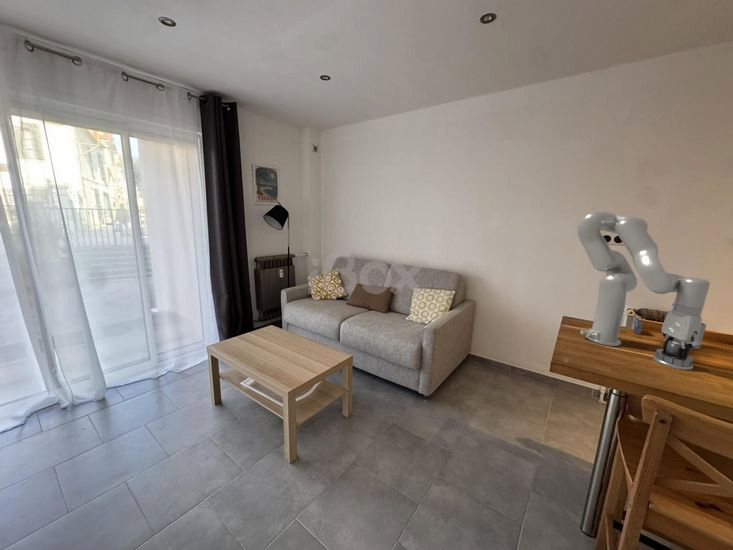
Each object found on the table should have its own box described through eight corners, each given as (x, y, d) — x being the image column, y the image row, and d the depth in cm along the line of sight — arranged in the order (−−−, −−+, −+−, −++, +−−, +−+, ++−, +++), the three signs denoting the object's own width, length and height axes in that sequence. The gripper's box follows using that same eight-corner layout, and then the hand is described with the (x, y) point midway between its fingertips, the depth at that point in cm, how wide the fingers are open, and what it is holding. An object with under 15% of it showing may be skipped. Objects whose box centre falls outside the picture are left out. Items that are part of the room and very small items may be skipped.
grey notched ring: (670, 369, 111) (673, 360, 111) (645, 355, 122) (647, 347, 121) (701, 371, 111) (703, 362, 110) (672, 357, 122) (675, 349, 121)
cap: (673, 357, 113) (677, 345, 112) (661, 351, 118) (664, 339, 117) (687, 358, 113) (691, 346, 112) (674, 352, 118) (678, 340, 117)
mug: (678, 339, 140) (684, 318, 138) (703, 347, 133) (710, 324, 130) (664, 343, 136) (671, 320, 133) (690, 351, 128) (697, 327, 126)
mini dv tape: (630, 329, 152) (633, 318, 151) (634, 329, 152) (637, 318, 150) (636, 334, 145) (638, 322, 144) (640, 335, 144) (642, 323, 143)
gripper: (656, 302, 120) (645, 344, 124) (700, 317, 104) (686, 364, 108) (675, 303, 120) (663, 345, 124) (722, 318, 104) (707, 365, 107)
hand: (674, 353), depth 116 cm, fingers closed on cap, 5 cm apart
